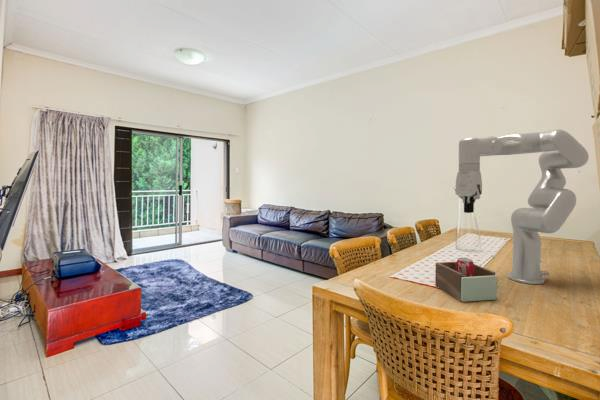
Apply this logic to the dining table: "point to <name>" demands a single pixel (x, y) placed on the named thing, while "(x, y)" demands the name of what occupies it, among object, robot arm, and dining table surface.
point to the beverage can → (465, 267)
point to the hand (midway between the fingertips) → (468, 212)
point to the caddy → (454, 277)
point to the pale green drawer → (478, 288)
